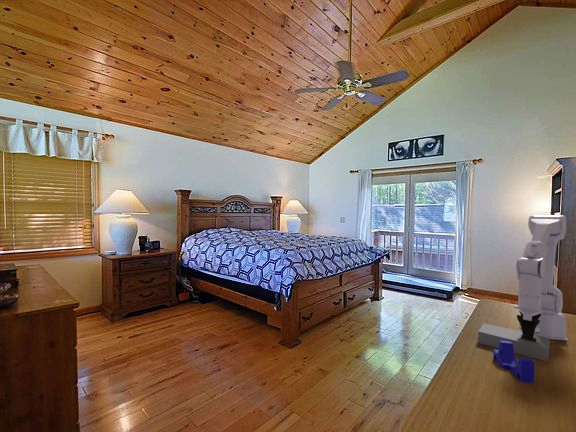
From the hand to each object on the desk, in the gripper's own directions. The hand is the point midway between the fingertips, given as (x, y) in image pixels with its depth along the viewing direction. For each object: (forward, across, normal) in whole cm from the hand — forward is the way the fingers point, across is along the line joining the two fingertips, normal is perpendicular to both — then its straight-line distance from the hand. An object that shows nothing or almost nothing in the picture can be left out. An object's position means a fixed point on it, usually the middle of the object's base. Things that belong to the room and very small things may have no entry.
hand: (528, 336), depth 95 cm
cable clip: (+5, +18, -2) cm, 19 cm away
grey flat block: (+5, 0, -4) cm, 6 cm away
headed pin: (+1, 0, 0) cm, 1 cm away
